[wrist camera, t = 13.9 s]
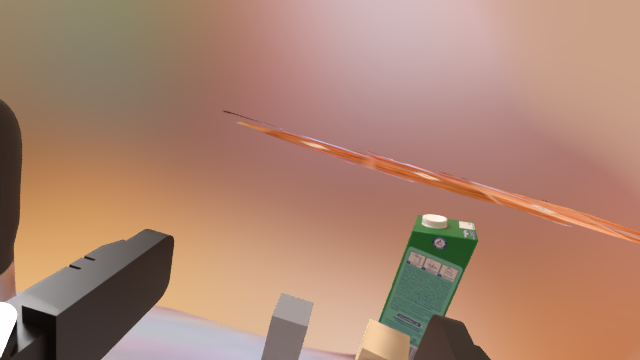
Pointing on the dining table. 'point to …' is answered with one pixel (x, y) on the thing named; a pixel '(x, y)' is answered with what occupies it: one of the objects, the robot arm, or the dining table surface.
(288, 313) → the slate block
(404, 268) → the milk carton
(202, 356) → the dining table surface
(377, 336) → the maple block
